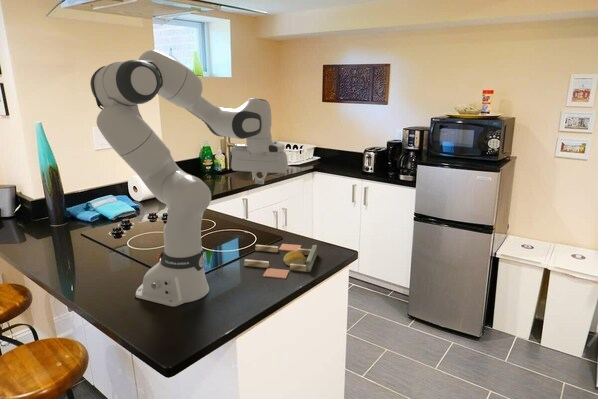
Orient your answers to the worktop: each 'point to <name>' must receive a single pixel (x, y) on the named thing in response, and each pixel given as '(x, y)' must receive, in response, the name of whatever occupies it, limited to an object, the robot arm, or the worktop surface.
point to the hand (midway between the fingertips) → (259, 183)
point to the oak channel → (296, 267)
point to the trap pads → (279, 272)
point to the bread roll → (294, 258)
